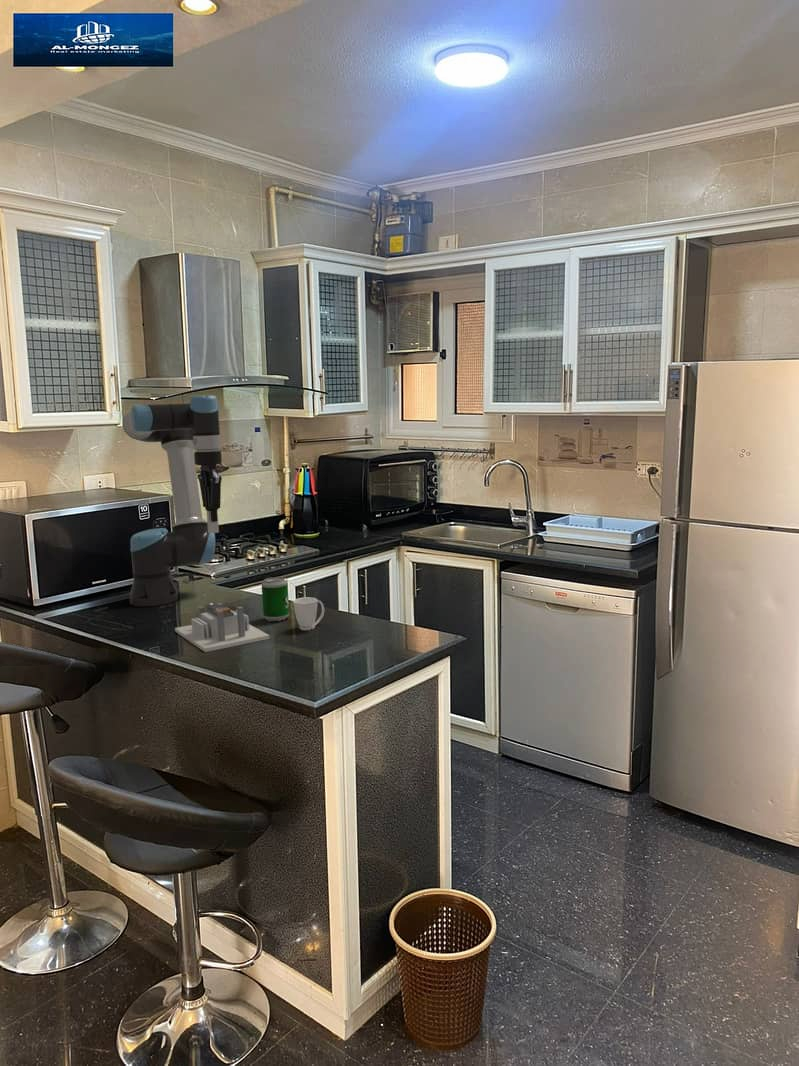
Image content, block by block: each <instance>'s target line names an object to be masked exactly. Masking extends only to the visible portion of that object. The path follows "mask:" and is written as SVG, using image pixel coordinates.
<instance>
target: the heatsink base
mask: <svg viewBox="0 0 799 1066" xmlns="http://www.w3.org/2000/svg"><path fill="white" fill-rule="evenodd" d="M217 604H218V605H220V606H222V607H224V604H223V603H222V602H218V603H217ZM231 612H233V613H234V616H230V617H224V615H223V611H222V610H218V611H217V614H216V613H214V612H212V611H207V612H206V611H205V606H197V614H198V615H197V616H198V617H195V618H191V624H190V625H184V626H183V625H182V626H179V627H178V626H177V627H174V632H175V633H177V634H178V635H180V636H181V637H182V638H184V639H185V640H187V641H188V642H189V643H191V644H192V645H194V646H196V648H198V649H200V650H201V651H203V652H204V653H208V652H213V651H217V650H223V649H227V648H232V647H236V646H237V647H238V646H242V645H246V644H250V643H255V642H260V641H265V640H270V634H268V633H266V632H265V631H263V630H260V628H256V627H255V626H253V625H252V624H250V617H249V615H247V614H246V613H244V607H243V606H236V610H235V611H234V610H231Z"/></svg>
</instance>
